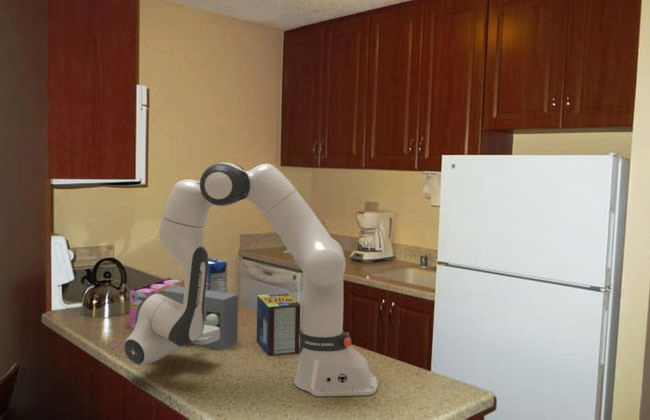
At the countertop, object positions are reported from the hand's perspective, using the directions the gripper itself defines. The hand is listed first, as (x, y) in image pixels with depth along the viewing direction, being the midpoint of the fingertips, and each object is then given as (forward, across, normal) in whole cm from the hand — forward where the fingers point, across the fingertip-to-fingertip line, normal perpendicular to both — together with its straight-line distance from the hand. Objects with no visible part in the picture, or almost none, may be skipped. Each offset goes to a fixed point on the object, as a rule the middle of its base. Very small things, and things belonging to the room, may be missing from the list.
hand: (202, 324), depth 173 cm
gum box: (+20, +34, +10) cm, 41 cm away
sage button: (+6, 0, +2) cm, 6 cm away
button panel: (+9, +8, +9) cm, 15 cm away
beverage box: (+32, +19, +9) cm, 38 cm away
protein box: (+16, -17, +9) cm, 26 cm away
